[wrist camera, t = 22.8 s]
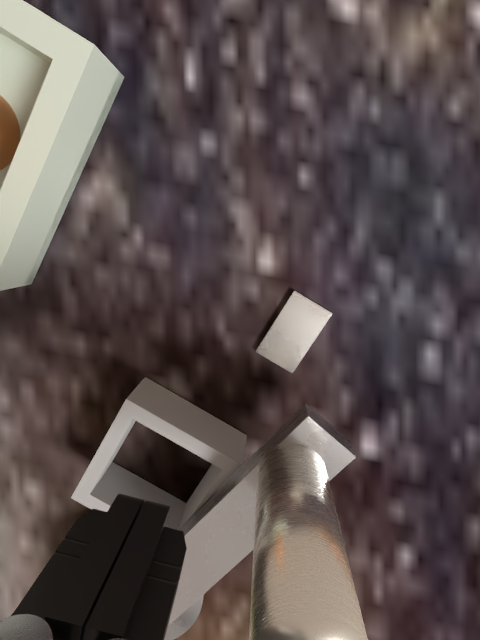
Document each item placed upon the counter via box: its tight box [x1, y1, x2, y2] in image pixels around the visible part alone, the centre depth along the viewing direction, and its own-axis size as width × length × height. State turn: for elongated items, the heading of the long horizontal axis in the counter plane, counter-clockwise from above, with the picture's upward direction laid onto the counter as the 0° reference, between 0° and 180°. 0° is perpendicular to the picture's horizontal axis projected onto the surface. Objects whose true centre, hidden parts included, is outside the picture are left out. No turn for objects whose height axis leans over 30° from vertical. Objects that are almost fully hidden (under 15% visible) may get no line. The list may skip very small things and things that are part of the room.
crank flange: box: [164, 290, 332, 640], centre depth 17 cm, size 7×20×1 cm, turn 149°
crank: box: [168, 403, 368, 640], centre depth 13 cm, size 15×4×8 cm, turn 139°
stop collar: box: [71, 377, 247, 530], centre depth 16 cm, size 5×5×2 cm
